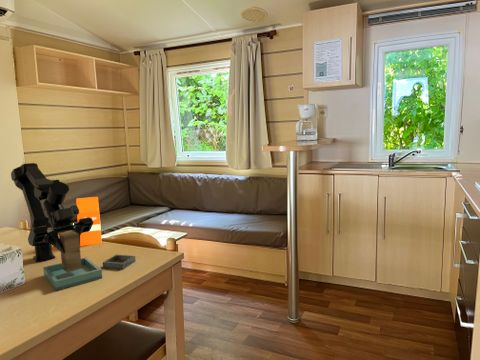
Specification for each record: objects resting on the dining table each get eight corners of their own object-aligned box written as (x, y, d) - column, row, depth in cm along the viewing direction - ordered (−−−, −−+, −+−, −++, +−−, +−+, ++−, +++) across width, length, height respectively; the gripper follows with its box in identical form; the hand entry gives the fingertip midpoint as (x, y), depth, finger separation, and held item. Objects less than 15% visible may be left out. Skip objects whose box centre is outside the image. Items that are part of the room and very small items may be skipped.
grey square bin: (103, 267, 125) (102, 262, 124) (116, 259, 132) (116, 254, 132) (123, 269, 123) (122, 264, 122) (135, 261, 130) (135, 255, 130)
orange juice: (80, 241, 157) (76, 197, 154) (101, 238, 160) (98, 195, 157) (79, 246, 149) (75, 200, 147) (101, 243, 153) (98, 198, 150)
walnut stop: (62, 268, 117) (59, 234, 115) (76, 265, 120) (73, 231, 118) (67, 272, 114) (64, 236, 112) (81, 268, 117) (78, 233, 115)
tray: (43, 275, 119) (43, 267, 119) (86, 264, 128) (86, 256, 127) (55, 291, 107) (54, 281, 106) (102, 278, 116) (101, 269, 115)
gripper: (29, 203, 110) (45, 244, 104) (89, 194, 123) (105, 230, 117) (24, 223, 116) (39, 263, 110) (81, 213, 130) (97, 248, 124)
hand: (71, 250), depth 115 cm, fingers closed on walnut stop, 4 cm apart
